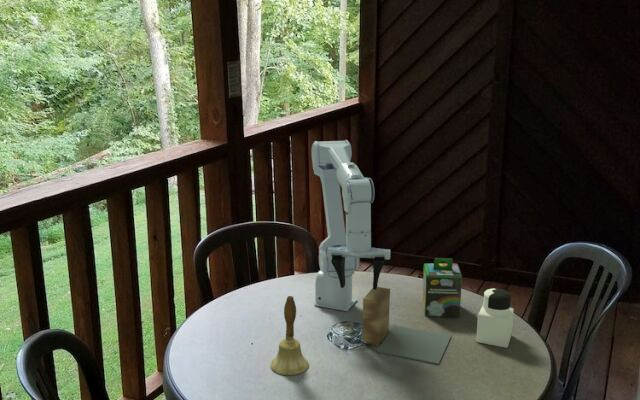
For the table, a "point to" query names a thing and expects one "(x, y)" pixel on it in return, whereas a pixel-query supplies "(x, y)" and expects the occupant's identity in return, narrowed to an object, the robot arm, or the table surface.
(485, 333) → the medicine bottle
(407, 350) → the mat
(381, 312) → the tan rectangular block
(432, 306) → the chalk box
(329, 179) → the robot arm
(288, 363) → the hand bell
